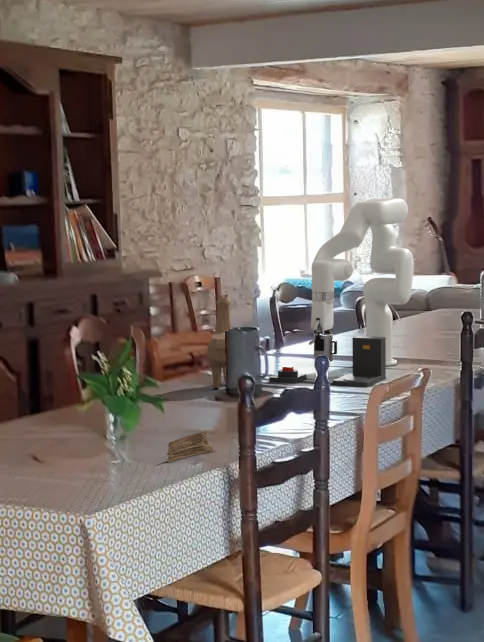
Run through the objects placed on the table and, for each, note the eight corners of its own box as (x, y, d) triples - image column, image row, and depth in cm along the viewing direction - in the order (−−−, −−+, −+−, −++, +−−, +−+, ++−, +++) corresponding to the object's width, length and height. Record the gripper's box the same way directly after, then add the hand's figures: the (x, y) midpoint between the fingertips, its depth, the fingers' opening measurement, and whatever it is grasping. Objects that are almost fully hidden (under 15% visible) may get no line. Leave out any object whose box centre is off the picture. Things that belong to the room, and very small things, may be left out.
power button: (284, 370, 396) (284, 365, 396) (294, 371, 394) (294, 365, 394) (280, 372, 393) (280, 366, 393) (290, 372, 391) (290, 367, 391)
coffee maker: (351, 376, 400) (351, 335, 399) (385, 378, 395) (385, 337, 394) (332, 384, 383) (332, 342, 382) (367, 387, 378) (367, 344, 377)
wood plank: (172, 463, 277) (172, 442, 277) (166, 462, 279) (165, 441, 278) (212, 451, 289) (212, 431, 289) (205, 450, 291) (205, 430, 290)
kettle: (312, 358, 403) (312, 332, 402) (339, 360, 399) (339, 334, 398) (305, 361, 397) (305, 335, 397) (333, 362, 393) (333, 336, 392)
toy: (238, 381, 393) (237, 292, 390) (234, 392, 373) (233, 298, 370) (212, 381, 394) (211, 293, 391) (207, 392, 374) (205, 298, 371)
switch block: (281, 377, 401) (281, 367, 400) (306, 378, 397) (306, 368, 396) (269, 382, 391) (269, 371, 391) (294, 383, 387) (294, 373, 387)
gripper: (321, 294, 405) (322, 345, 407) (303, 298, 390) (303, 352, 392) (342, 295, 402) (342, 346, 404) (324, 299, 387) (324, 353, 388)
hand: (323, 349), depth 398 cm, fingers closed on kettle, 6 cm apart
